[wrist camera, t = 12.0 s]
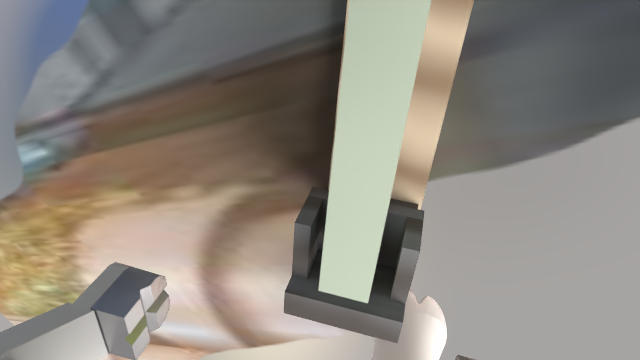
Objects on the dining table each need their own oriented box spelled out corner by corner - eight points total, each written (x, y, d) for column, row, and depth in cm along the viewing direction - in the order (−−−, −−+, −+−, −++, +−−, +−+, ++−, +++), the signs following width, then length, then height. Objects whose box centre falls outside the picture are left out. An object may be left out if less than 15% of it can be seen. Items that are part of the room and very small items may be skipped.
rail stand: (374, -210, 24) (300, -303, 13) (523, -203, 23) (586, -300, 12) (329, 202, 41) (279, 321, 29) (415, 221, 39) (398, 354, 28)
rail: (382, -112, 19) (361, -114, 15) (453, -106, 18) (451, -106, 14) (337, 237, 30) (318, 290, 26) (380, 247, 29) (368, 303, 25)
